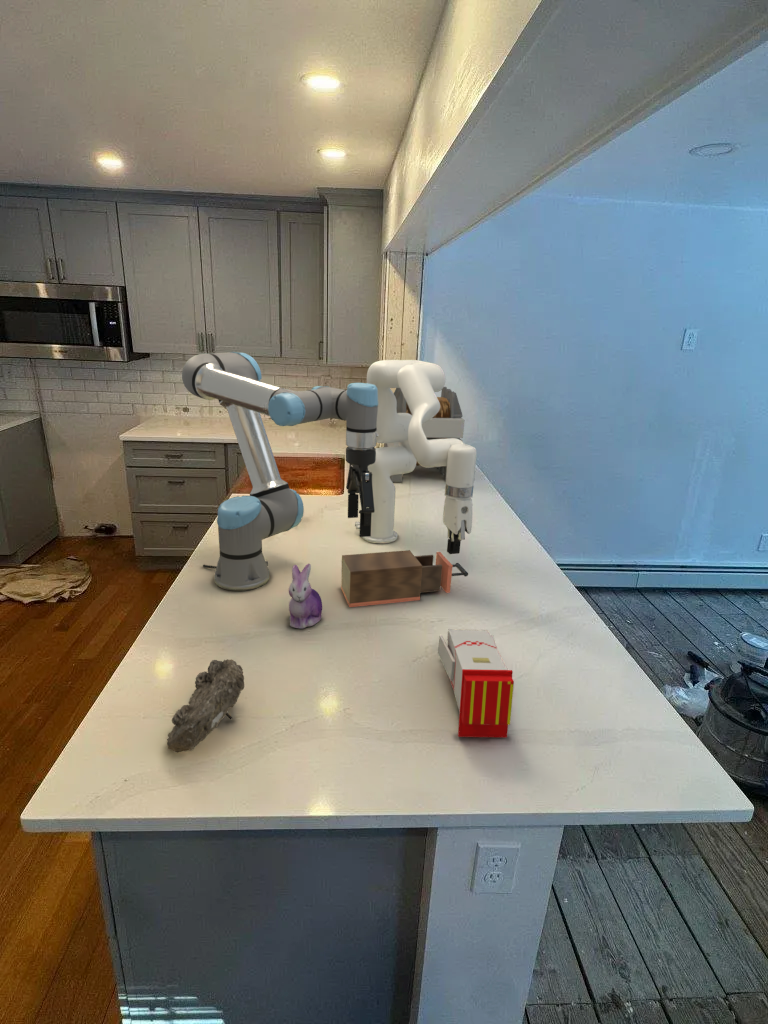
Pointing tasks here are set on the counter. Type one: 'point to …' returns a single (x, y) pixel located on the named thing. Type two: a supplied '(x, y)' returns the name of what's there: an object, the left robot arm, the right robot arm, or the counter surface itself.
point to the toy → (478, 682)
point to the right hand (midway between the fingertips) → (453, 552)
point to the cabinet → (380, 578)
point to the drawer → (437, 573)
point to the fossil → (206, 705)
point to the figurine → (303, 600)
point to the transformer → (435, 422)
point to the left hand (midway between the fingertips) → (358, 526)
